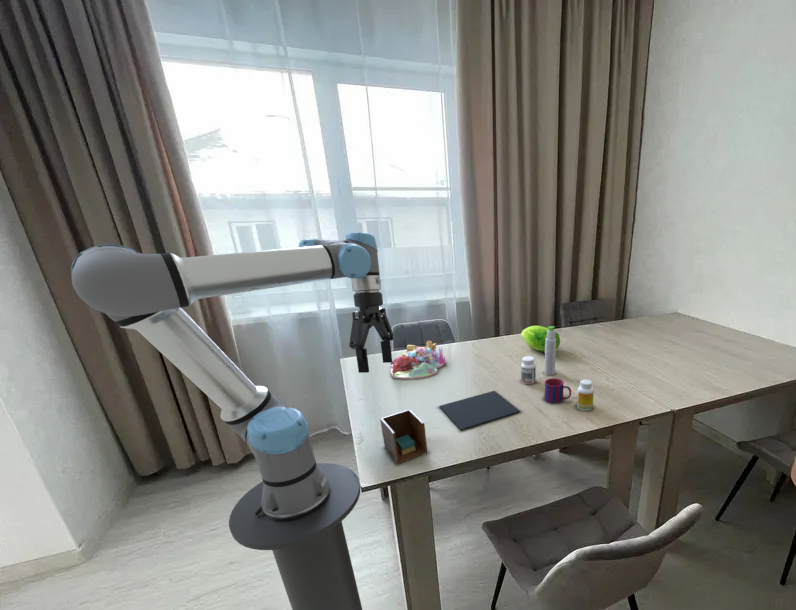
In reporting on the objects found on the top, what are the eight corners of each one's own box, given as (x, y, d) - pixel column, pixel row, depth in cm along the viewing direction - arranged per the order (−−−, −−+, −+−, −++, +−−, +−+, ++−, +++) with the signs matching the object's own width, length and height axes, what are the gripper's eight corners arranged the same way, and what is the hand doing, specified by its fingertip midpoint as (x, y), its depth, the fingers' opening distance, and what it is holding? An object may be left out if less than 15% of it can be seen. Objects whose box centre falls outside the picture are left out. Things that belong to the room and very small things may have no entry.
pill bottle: (528, 377, 162) (528, 354, 158) (538, 381, 158) (538, 358, 154) (518, 381, 158) (518, 358, 154) (528, 385, 154) (528, 362, 151)
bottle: (556, 374, 164) (558, 328, 156) (546, 375, 163) (548, 329, 155) (552, 370, 168) (554, 324, 160) (542, 371, 167) (543, 326, 159)
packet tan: (395, 447, 116) (395, 443, 116) (408, 442, 119) (408, 438, 118) (402, 455, 113) (401, 451, 112) (415, 450, 115) (415, 446, 114)
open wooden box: (384, 447, 117) (380, 418, 113) (413, 437, 122) (409, 408, 118) (397, 464, 110) (392, 433, 106) (427, 452, 115) (424, 422, 111)
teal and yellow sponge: (395, 443, 116) (394, 438, 115) (408, 438, 118) (407, 434, 117) (401, 451, 112) (401, 446, 112) (415, 446, 114) (414, 441, 114)
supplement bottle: (594, 410, 136) (596, 384, 132) (578, 411, 136) (580, 385, 132) (590, 403, 141) (592, 378, 137) (575, 403, 141) (576, 378, 137)
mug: (551, 393, 149) (551, 376, 146) (574, 401, 143) (575, 383, 140) (540, 399, 144) (541, 382, 141) (564, 408, 138) (564, 390, 135)
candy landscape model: (389, 360, 180) (386, 340, 177) (441, 353, 187) (439, 335, 183) (391, 382, 159) (388, 360, 155) (450, 374, 165) (449, 353, 162)
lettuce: (533, 341, 202) (533, 319, 197) (567, 353, 186) (568, 329, 181) (514, 347, 194) (514, 324, 190) (547, 360, 178) (548, 335, 174)
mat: (461, 430, 125) (460, 429, 125) (439, 407, 139) (439, 405, 139) (519, 412, 136) (519, 410, 135) (494, 392, 150) (494, 390, 150)
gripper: (355, 292, 97) (365, 377, 102) (400, 290, 121) (407, 358, 126) (327, 294, 99) (339, 377, 103) (377, 291, 123) (385, 359, 127)
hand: (376, 367), depth 114 cm, fingers open, 13 cm apart
